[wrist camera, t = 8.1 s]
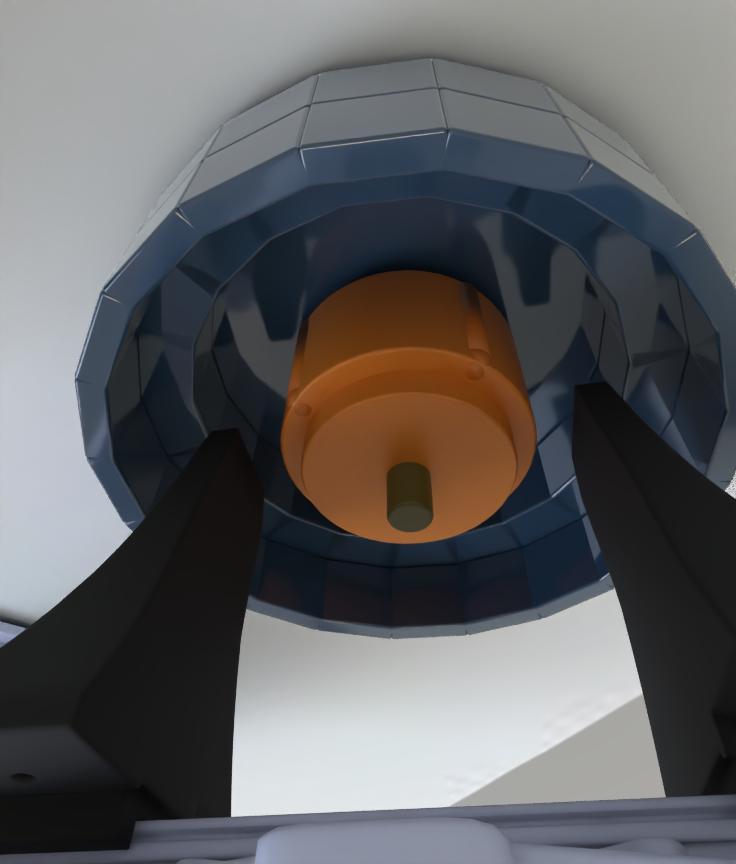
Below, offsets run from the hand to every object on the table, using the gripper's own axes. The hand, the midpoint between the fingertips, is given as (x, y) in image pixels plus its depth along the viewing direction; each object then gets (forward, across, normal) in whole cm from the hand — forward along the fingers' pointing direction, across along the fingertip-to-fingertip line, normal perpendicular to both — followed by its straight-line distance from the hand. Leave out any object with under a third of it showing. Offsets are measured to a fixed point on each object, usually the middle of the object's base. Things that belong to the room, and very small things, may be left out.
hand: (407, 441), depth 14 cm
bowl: (+4, 0, 0) cm, 4 cm away
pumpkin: (+3, 0, 0) cm, 3 cm away
